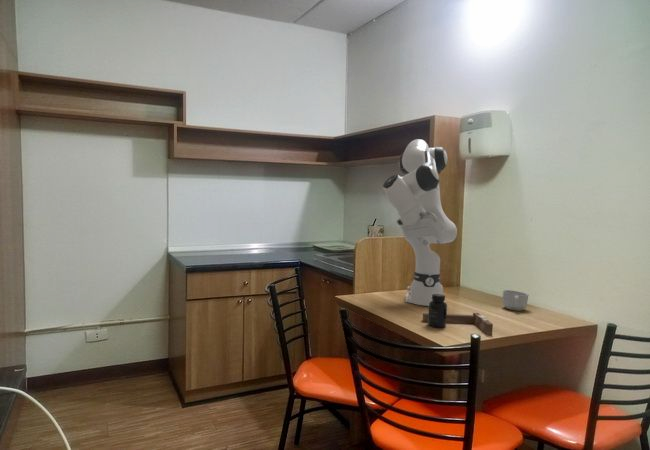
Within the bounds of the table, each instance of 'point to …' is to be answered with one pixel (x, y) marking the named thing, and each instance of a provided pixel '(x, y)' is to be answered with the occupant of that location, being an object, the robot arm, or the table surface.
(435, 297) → the supplement bottle
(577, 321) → the table surface
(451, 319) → the rack
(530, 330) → the table surface
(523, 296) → the teacup
